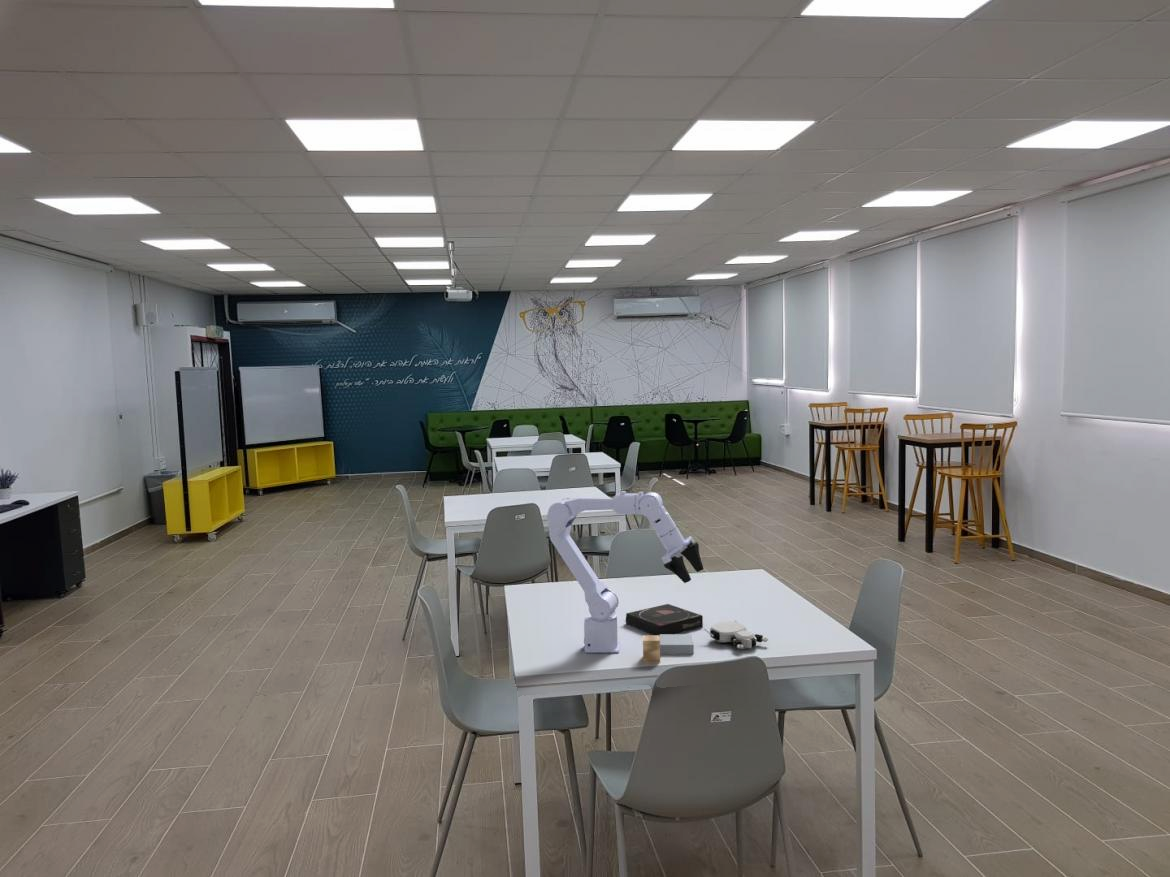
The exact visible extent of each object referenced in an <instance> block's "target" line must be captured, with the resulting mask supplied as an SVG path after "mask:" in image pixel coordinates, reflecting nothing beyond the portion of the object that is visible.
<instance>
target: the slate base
mask: <svg viewBox="0 0 1170 877" xmlns="http://www.w3.org/2000/svg"><path fill="white" fill-rule="evenodd" d="M694 652H695V651H694V641H693V635H692V634H690V633H689V634H687V633H686V634H685V633H684V634H683V633H678V634H660V655H679V654H680V655H692V654H693V655H694Z"/></svg>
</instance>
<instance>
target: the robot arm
mask: <svg viewBox="0 0 1170 877" xmlns="http://www.w3.org/2000/svg"><path fill="white" fill-rule="evenodd" d="M663 503H664V502H663V499H662V496H661V495H660V494H659V493H657V492H654V491H647V492H646V493H644V492H643V491H639V492H638V493H636V492H635V493H629V492H628V493H627V491H626V490H621V491H620V493H619V492H618V493H616V494H615V495H614V496H613V497H596V496H575V497H565V498H562V499H561V500H559V501H558V502H555V503H553V504H552V505H550V507H549V508H548V511H547V514H546V517H545V519H546V521H547V524H548V534H549V535H548V536H549V539H550V541H551V543H552V544H553V546H554V547H555V550H557V552H558V554H559V555H560V557H561V559H562V560H563V561H564V563H565V564H566V566H567V567H568V569H569V571H570V572H571V573H572V575H573V576H574V578H575V579H576V581H577V583H578V584H579V586H580V587H581V589H582V590H583V592H584V601H585V603H586V604H587V606H588V611H589V614H590V616H589V617H584V622H583V625H584V626H583V631H584V634H583V635H584V637H583V644H584V653H589V654H591V653H592V654H593V653H596V654H597V653H600V654H601V653H604V654H605V653H611V654H612V653H617V654H618V653H619V652H620V645H621V644H620V641H619V640H618V637H619V636H618V614H617V612H616V609H617V607H619V600H620V599H619V597H618V595H617V593H615V592H614V591H613V590H611V589H610V588H609V587H608V586H607V584H605V582H602V581H601V580H600V579H599V578H598V576H597V574H596V572H595V571H594V570H593V568H592V567H591V566H590V564H589V562H588V561H587V559H586V557H585V556H584V555H583V553H582V551H580V548H579V547H578V545H577V544H576V543H575V541H574V539H573V538H572V537H571V534H570V533H571V530H572V526H573V523H574V521H575V520H576V518H577V516H578V515H579V514H581V513H583V512H585V511H605V510H606V511H607V510H612V511H613V512H614V513H615V514H617V515H640V514H641V515H642V516H645V517H646V518H647V520H648V521H649V525H651V527H652V529H653V530H654V532H655V534H656V536H657V537H658V539H659V541H660V542H661V544H662V545H663V547H664V549H665V550H666V553H665V554H663V556H662V557H661V560H662V562H663V566H664V568H666V569H667V570H669V571H670V572H672V573H674V575H675V576H677V577H678V579H680V580H681V581H682V582H683V583H684V584H686V583H689V582H691V580H692V578H691V576H690V573H689V571H688V569H687V567H686V565H685V562H684V558H685V559H686V560H687V561H688V563H690V566H692V568H693V570H695V572H697V573H699V572H701V571H703V570H705V569H704V565H703V562H702V558H701V556H700V548H699V546H700V544H699V543H698V542H697V541H696V542H695V540H694V538H693V536H688V537H686V538H685V537H684V536H683V535H682V532H680V529H679V528H678V527H677V524H676V523H675V522H674V520H673V518H672V517H671V515H670V513H669V512H668V511H667V509H666V508H665V506H664V505H663ZM679 554H680V556H679V557H677V556H678V555H679Z"/></svg>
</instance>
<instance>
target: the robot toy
mask: <svg viewBox="0 0 1170 877" xmlns="http://www.w3.org/2000/svg"><path fill="white" fill-rule="evenodd" d="M703 630H704V631H706V633H708V634H709V635H710V637H711V639H713V640H715V641H716V642H718V643H719V644H720V643H721V644H724V643H733V646H734V647H735V649H741V650H743V649H744V650H746V649H752V648H756V647H757V642H758V643H762V642H764V643H765V642H766V643H767V642H768V641H769V638H768V637H764V636H763V634H762V635H761V634H757V633H755V634H754V633H752V632H750V631H748V630H747V627H746V625H744V624H741V623H739V622H738V621H737V620H734V621H724V622H723V621H722V622H718V623H716V624H714V625H712V626H711V627H709V630H707V628H703Z"/></svg>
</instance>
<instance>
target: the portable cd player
mask: <svg viewBox="0 0 1170 877" xmlns="http://www.w3.org/2000/svg"><path fill="white" fill-rule="evenodd" d="M625 614H626V615H625V624H626V626H629V625H630V626H629V627H632V628H635V629H637V630H640V631H642V632H643V633H647V634H648V635H659V636H660V634H683V633H685V632H690V631H692V630H696V629H701V628H703V627H704V623H703V622H704V621H703V620H704V619H703V618H704V617H703V615H702V614H699V613H696V612H693V611H690V610H687V609H685V608H681V607H678V606H675V605H673V604H670V603H666V604H661V605H657V606H653V607H649V608H644V609H640V610H639V609H638V610H635V611H630V612H626V613H625Z"/></svg>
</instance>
